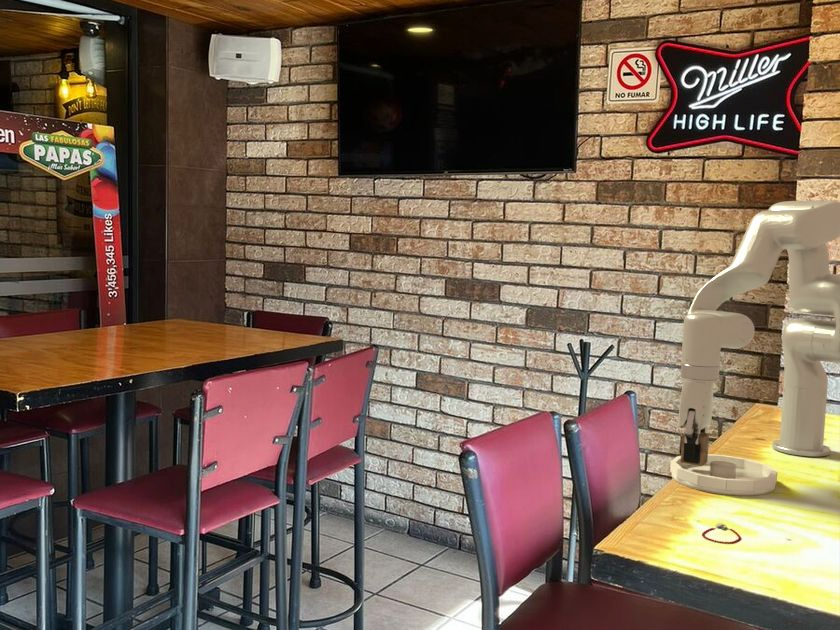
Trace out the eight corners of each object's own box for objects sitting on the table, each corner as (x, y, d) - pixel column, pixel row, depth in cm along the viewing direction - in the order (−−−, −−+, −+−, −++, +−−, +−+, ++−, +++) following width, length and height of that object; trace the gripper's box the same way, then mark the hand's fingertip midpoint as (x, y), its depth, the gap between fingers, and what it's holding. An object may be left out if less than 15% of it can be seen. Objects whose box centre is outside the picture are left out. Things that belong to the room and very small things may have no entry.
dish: (685, 462, 186) (685, 447, 186) (782, 478, 176) (783, 461, 175) (660, 483, 169) (661, 466, 169) (765, 502, 159) (767, 483, 158)
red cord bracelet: (708, 525, 145) (709, 520, 145) (745, 532, 142) (746, 527, 142) (698, 540, 138) (698, 534, 137) (736, 548, 135) (737, 541, 134)
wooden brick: (685, 458, 178) (687, 430, 177) (707, 461, 176) (709, 433, 175) (680, 462, 174) (682, 434, 174) (702, 466, 172) (704, 437, 171)
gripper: (691, 366, 182) (686, 449, 184) (670, 376, 168) (665, 465, 170) (727, 370, 179) (721, 454, 180) (709, 380, 164) (703, 471, 166)
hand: (694, 459), depth 175 cm, fingers closed on wooden brick, 4 cm apart
